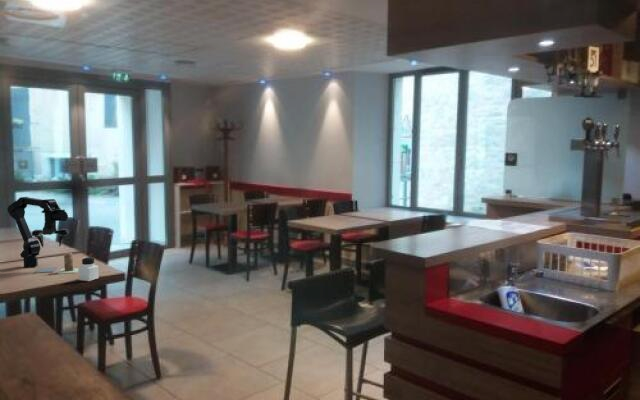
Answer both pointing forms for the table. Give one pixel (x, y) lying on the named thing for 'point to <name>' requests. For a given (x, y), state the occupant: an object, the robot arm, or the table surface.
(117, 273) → the table surface
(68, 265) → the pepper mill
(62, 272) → the sage coaster
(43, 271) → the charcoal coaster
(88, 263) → the medicine bottle
